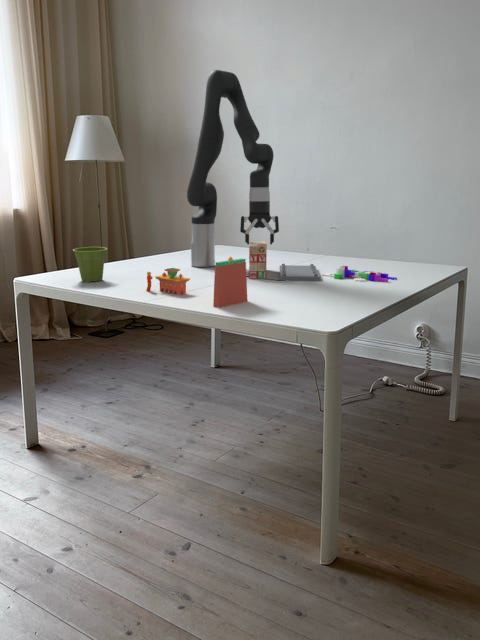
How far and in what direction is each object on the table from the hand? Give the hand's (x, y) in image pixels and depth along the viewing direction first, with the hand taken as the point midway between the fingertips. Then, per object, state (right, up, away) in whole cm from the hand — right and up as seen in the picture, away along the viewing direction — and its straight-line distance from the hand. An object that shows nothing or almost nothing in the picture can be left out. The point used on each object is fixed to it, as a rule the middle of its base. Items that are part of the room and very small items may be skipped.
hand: (259, 244), depth 235 cm
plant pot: (-60, -14, -11) cm, 63 cm away
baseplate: (+15, -11, +2) cm, 19 cm away
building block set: (+37, -13, -2) cm, 40 cm away
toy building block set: (-22, -21, -38) cm, 49 cm away
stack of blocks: (-1, -11, +3) cm, 12 cm away
